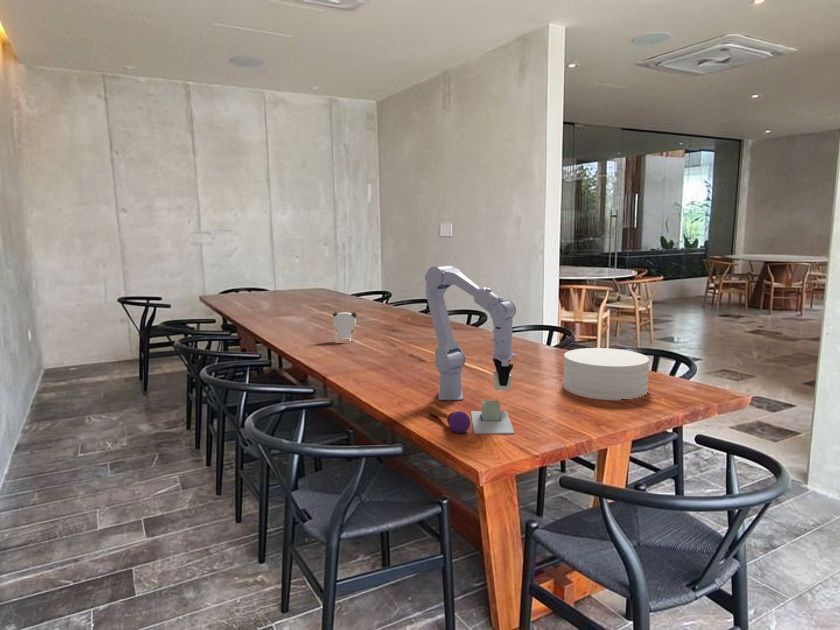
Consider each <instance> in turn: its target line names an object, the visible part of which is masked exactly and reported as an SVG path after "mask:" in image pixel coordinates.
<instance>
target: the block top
mask: <svg viewBox="0 0 840 630" xmlns="http://www.w3.org/2000/svg"><path fill="white" fill-rule="evenodd" d="M512 378H513V377H512V374H511V372H510V375H509V379H508V383H507V386H500V384H499V378H498V372H496V371H493V388H494V390H495V391H512V384H513V383H512V380H513V379H512Z"/></svg>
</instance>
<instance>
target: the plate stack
mask: <svg viewBox="0 0 840 630" xmlns="http://www.w3.org/2000/svg"><path fill="white" fill-rule="evenodd" d="M563 360H564V361H563V377H562V378H563V379H562V380H563V382H562V383H563V386H562V387H563V389H565V390H566V391H567V392H568V393H571V394H574V395H576V396H580V397H584V398H589V399H593V398H594V399H595V400H603V401H622V400H621V399H630V400H634V399H633V398H636V399H639V398H638V397H640V398H642V397H641V396H643V395H645V394H646V395H647V394H648V393H649V388H648V386H649V377H650V376H649V372H650V366H649V365H650V358H649V357H648V356H646V355H645V354H643V353H640V352H636V351H631V350H626V349H619V348H606V347H605V348H604V347H585V348H583V347H582V348H576V349H571V350H568V351H566V352H565V353H564V354H563ZM647 392H648V393H647ZM646 395H645V396H646ZM643 397H644V396H643Z"/></svg>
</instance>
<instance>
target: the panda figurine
mask: <svg viewBox="0 0 840 630" xmlns="http://www.w3.org/2000/svg"><path fill="white" fill-rule="evenodd" d="M332 316H333V317H334V319H333V326H334V328H335V330H336V332H337V339H336V340H337V341H339V339H349V341H351V339H352V334H353V332H354V331H353V330H354V329H355V327H356V325H357V319H356V317H357V316H358V314H357V312H356V311H353V312H352V313H350V312H347V311H345V312H337V311H334V312H333V314H332Z"/></svg>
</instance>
